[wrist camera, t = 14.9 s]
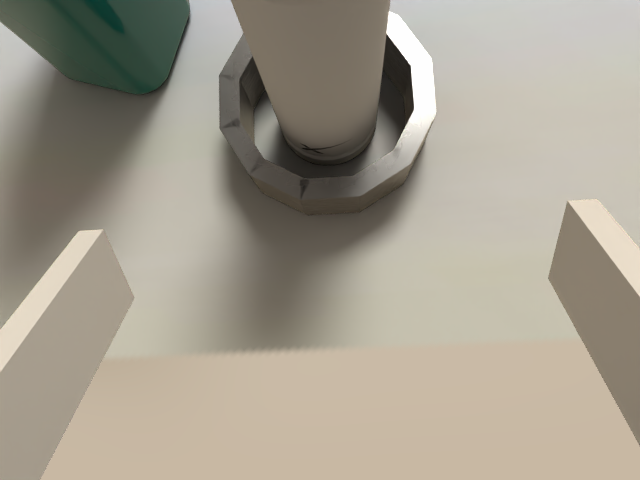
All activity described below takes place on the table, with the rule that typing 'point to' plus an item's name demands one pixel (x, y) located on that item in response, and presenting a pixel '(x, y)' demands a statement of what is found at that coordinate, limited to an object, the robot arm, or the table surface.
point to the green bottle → (102, 38)
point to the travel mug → (319, 70)
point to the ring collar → (346, 191)
